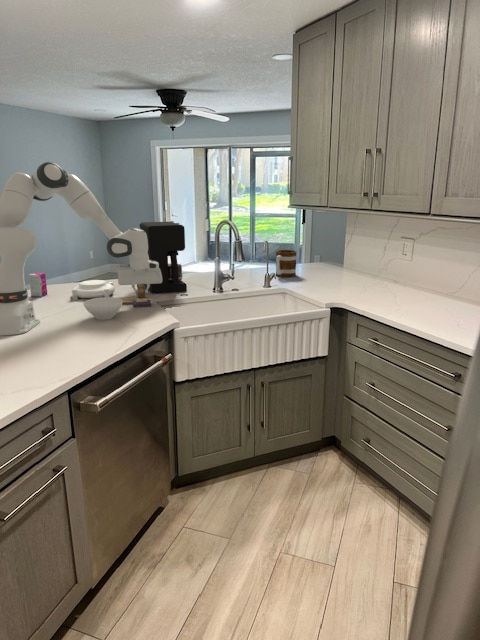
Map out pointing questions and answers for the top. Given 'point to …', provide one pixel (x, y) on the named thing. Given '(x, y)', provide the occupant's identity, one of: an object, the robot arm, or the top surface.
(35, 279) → the supplement box
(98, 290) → the round stand with pegs
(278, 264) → the mug
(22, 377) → the top surface
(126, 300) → the board
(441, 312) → the top surface
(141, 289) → the stamp
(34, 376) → the top surface
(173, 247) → the coffee maker
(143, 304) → the ink pad
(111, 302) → the bowl
